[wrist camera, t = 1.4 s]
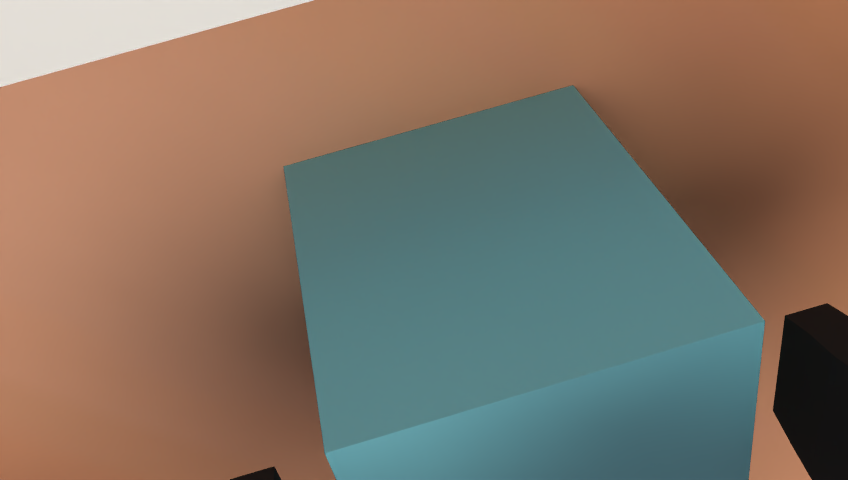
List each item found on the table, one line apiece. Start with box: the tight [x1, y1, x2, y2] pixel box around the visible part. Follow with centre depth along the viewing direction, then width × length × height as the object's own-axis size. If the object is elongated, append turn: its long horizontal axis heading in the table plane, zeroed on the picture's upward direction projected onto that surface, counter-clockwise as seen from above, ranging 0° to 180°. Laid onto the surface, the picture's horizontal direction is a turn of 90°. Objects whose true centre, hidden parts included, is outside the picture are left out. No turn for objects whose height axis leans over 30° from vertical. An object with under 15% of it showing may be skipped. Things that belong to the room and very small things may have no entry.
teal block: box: [284, 85, 765, 480], centre depth 13 cm, size 5×5×6 cm
